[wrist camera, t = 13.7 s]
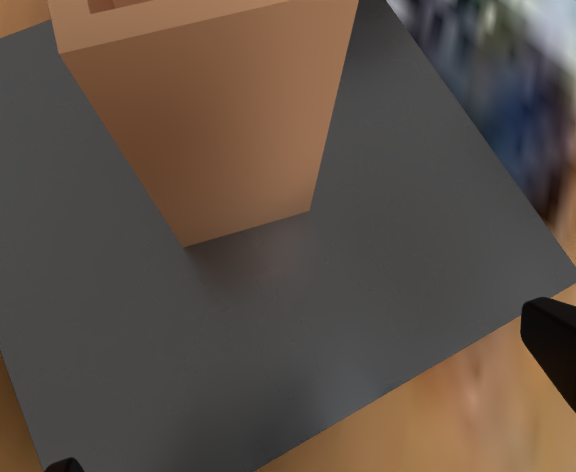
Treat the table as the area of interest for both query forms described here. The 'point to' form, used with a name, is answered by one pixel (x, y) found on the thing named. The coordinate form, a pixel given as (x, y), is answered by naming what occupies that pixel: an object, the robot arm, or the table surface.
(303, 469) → the table surface
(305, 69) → the sleeve
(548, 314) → the robot arm
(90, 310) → the plate
